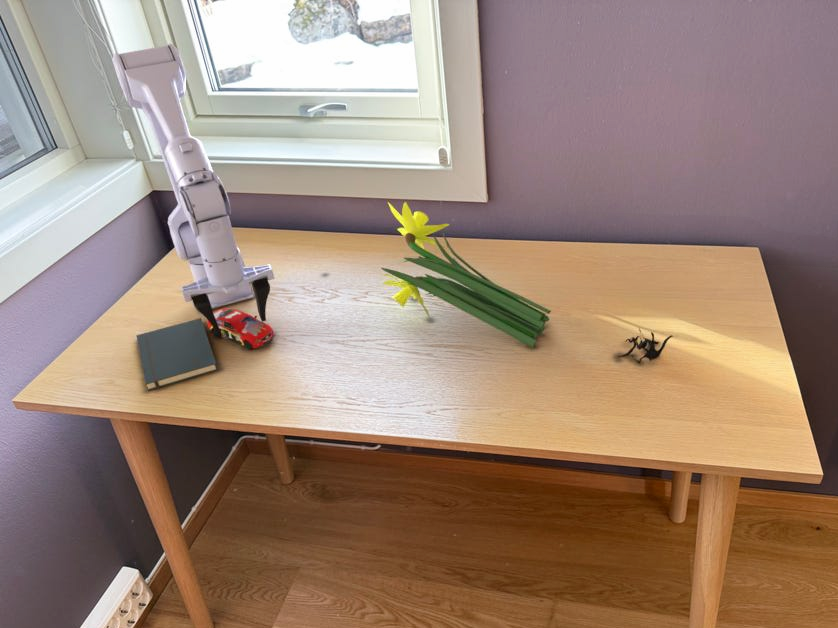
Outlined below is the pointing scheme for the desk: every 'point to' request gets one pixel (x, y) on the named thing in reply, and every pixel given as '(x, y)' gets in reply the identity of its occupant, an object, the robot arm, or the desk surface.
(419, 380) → the desk surface
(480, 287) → the daffodil flowers
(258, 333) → the race car
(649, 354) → the creature
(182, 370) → the notebook
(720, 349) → the desk surface
